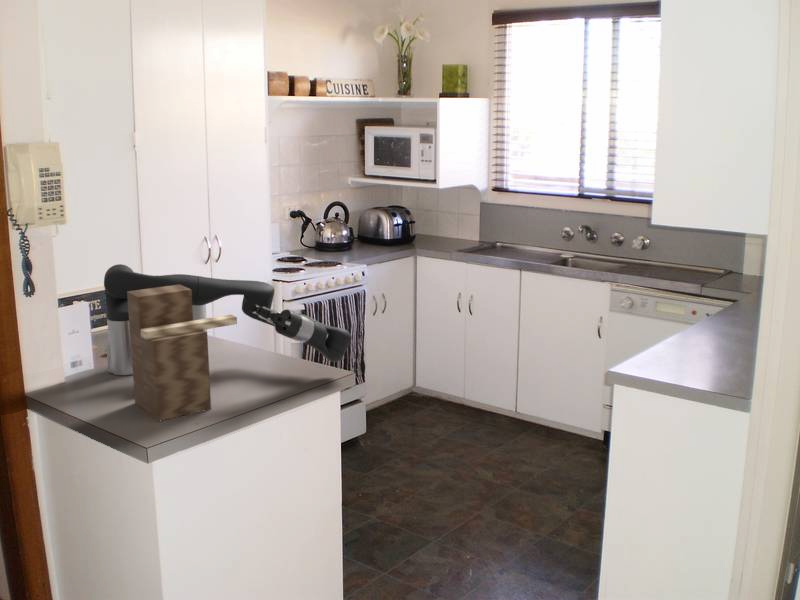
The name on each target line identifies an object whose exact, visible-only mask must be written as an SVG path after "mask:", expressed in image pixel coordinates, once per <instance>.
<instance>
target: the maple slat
mask: <svg viewBox="0 0 800 600" xmlns="http://www.w3.org/2000/svg"><path fill="white" fill-rule="evenodd" d="M237 324H238V318H237V316H235V315H233V314H226V315H225V314H224V315H220V316H213V317H208V318H207V317H206V319H200V320H194V321H188V322H182V323H176V324H169V325H163V326H157V327H151V328H145V329H140V332H141V337H142V338H144V339H152V338H158V337H164V336H170V335H176V334H181V333H187V332H193V331H199V330H205V329H207V330H210V329H217V328H221V327H228V326H233V325H237Z"/></svg>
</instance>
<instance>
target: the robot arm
mask: <svg viewBox="0 0 800 600" xmlns="http://www.w3.org/2000/svg"><path fill="white" fill-rule="evenodd" d="M179 284H180V285H182V286H184V287H187V288H189V289H191V291H192V305H196V306H201V305H205V304H206V305H207V304H210V303H213V302H215V301H217V300H219V299H222V298H225V297H229V296H239V295H240V296H243V298H242V303H241V311H242V313H243V314H244V315H245V316H248V317H250V318H251V319H253V320H256V321H259V322H261V323H263V324H267V325H270V326H271V327H274V330H275V331H276V333H278V334H279V335H281V336H284V337H286V338H289V340H290V339H291V340H293V341H295V342H300V343H303V344H305V345H307V346H310V347H312V348H313V349H314V350H316V351H317V352H319V353H320V354H321V355H322V356H323V357H324V358H325V360H328V361H330V362H331V363H338V362H340V361H342V359H343V358H344V356H345V354H346V351H347V350H348V348H349V347H350V344H351V342H352V339H353V338H352V335H351V332H350V331H348V330H347V329H345V328H341V327H336V326H330V325H328V324H327V325H326V324H325V323H322V322H319V320H316V319H314V318H312V317H310V316H308V315H305V314H303V313H298V312H295V311H293V310H290V309H284V310H282V311H278V310H275V309H272V305H273V300H274V295H275V287H274V286H273V285H272V284H270V283H267V282H264V281H259V280H244V279H241V280H240V279H222V278H213V277H206V276H201V275H194V274H193V275H191V274H182V273H181V274H179V273H178V274H176V273H175V274H163V275H152V274H145V273H138V272H135V271H134V270H133V269H132V268H131V267H129V266H128V265H126V264H114V265H112V266H111V267H109V268H108V269H107V270H106V272H105V274H104V280H103V287H104V293H105V309H106V310H105V311H106V312H105V313H106V321H107V322H106V323H107V333H108V334H107V335H108V341H107V342H106V343H105V345H106V346H105V347H106V349H107V356H106V357H107V358H106V359H107V360H106V361H107V371H108V373H109V374H110V373H111V374H112V373H113V374H112V375H115V376H129V375H131V376H132V375H133V367H132V354H131V340H130V326H129V312H128V298H127V291H134V290H142V289H149V288H157V287H164V286H172V285H179ZM106 349H105V350H106Z"/></svg>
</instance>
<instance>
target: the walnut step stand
mask: <svg viewBox="0 0 800 600" xmlns="http://www.w3.org/2000/svg"><path fill="white" fill-rule="evenodd" d="M127 298H128V312H129V326H130V340H131V354H132V367H133V374H132V379H133V392H134V404H135V405H137V406H138V407H139V408H140V409H142V410H143V411H144V412H146V414H148V415H149V414H150V415H149V416H151V417H152V418H153V419H154V418H155V420H156V421H157V422H161V421H160V420H163V421H165V419H167V420H170V419H169V418H171V419H175V418H174V417H176V418H178V417H177V416H180V417H183V416H182V415H184V416H188V415H187V414H189V415H191V414H190V413H193V414H196V413H195V412H198V411H202V412H204V411H203V410H206V411H210V410H209V409H211V410H212V401H211V400H212V399H211V380H210V378H211V377H210V361H209V342H208V331H207V332H206V331H204V330H199V331H193V332H187V333H181V334H176V335H170V336H164V337H158V338H152V339H144V338H142V337H141V332H140V329H145V328H151V327H157V326H163V325H169V324H176V323H182V322H188V321H193V309H192V291H191V289H189V288H187V287H184V286H182V285H180V284H179V285H172V286H164V287H157V288H149V289H142V290H134V291H127ZM198 413H199V412H198Z"/></svg>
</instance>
